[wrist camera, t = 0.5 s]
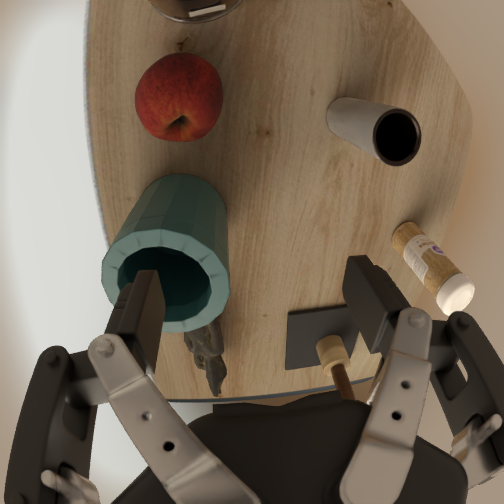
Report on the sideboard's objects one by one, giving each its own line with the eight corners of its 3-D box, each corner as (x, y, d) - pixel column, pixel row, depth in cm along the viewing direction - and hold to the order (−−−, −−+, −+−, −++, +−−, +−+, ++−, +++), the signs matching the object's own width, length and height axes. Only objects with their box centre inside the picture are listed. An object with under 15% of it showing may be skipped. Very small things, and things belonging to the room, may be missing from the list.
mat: (287, 312, 40) (288, 315, 40) (365, 301, 41) (366, 304, 40) (284, 367, 48) (285, 370, 48) (349, 356, 49) (350, 359, 48)
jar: (128, 180, 28) (83, 237, 18) (222, 168, 29) (221, 221, 19) (148, 259, 34) (124, 334, 24) (230, 251, 34) (235, 328, 24)
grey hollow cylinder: (362, 140, 28) (416, 169, 19) (323, 136, 28) (368, 163, 19) (367, 100, 25) (425, 114, 17) (327, 94, 25) (376, 103, 16)
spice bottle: (420, 219, 34) (481, 280, 23) (414, 248, 37) (467, 312, 25) (393, 221, 34) (453, 288, 23) (387, 252, 36) (438, 321, 25)
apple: (145, 133, 26) (119, 151, 19) (149, 58, 22) (122, 50, 15) (219, 134, 27) (217, 152, 20) (227, 58, 23) (228, 48, 16)
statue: (170, 270, 38) (206, 375, 45) (154, 291, 33) (199, 400, 40) (214, 265, 37) (243, 375, 44) (204, 287, 32) (239, 400, 39)
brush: (317, 337, 43) (351, 447, 27) (343, 332, 44) (383, 438, 28) (314, 353, 46) (343, 457, 30) (339, 349, 46) (373, 448, 30)
